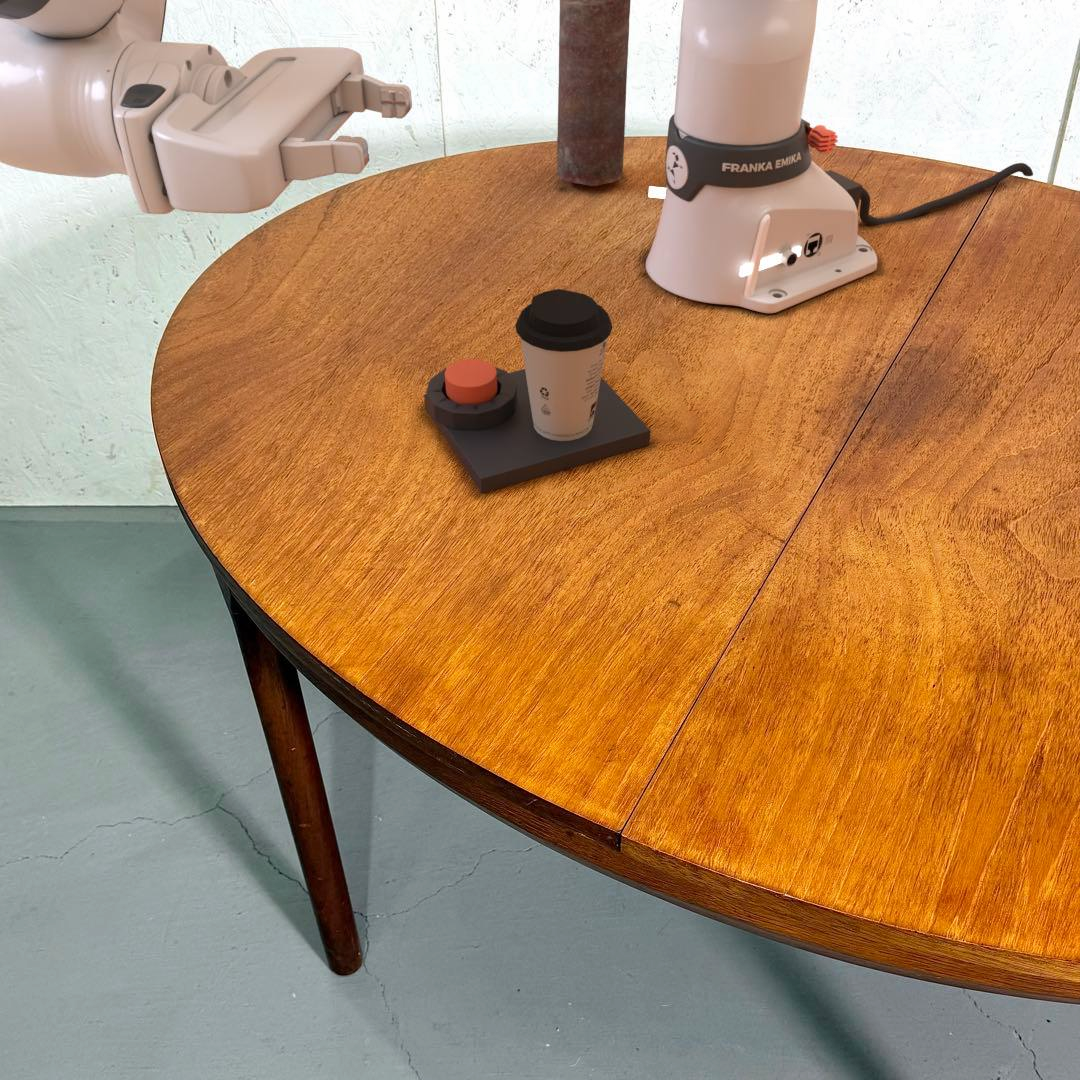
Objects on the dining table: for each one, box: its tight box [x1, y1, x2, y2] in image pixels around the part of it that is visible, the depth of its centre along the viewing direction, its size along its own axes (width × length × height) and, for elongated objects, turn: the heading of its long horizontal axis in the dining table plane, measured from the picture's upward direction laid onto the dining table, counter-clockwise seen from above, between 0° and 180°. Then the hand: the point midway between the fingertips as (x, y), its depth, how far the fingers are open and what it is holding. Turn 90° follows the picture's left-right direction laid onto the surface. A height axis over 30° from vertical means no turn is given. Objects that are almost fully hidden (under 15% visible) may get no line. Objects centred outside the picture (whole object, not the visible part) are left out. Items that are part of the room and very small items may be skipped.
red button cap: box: [445, 358, 497, 405], centre depth 82 cm, size 4×4×2 cm
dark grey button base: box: [423, 366, 651, 494], centre depth 83 cm, size 14×12×3 cm
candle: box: [556, 0, 631, 187], centre depth 112 cm, size 8×7×20 cm
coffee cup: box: [514, 288, 614, 441], centre depth 78 cm, size 7×7×10 cm
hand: (388, 127), depth 69 cm, fingers open, 8 cm apart
